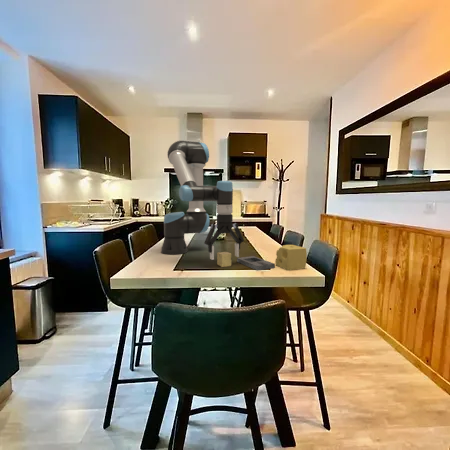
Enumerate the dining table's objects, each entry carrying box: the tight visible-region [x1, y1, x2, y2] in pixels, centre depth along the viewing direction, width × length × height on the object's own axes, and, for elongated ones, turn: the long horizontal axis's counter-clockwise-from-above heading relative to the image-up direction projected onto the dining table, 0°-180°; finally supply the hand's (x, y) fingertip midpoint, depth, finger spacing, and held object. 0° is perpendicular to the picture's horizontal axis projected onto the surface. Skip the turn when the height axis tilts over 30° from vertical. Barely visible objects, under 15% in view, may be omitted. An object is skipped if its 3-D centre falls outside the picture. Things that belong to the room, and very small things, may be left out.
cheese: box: [274, 244, 308, 271], centre depth 132 cm, size 10×11×10 cm
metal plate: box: [236, 255, 276, 271], centre depth 136 cm, size 18×10×2 cm, turn 28°
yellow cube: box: [216, 251, 232, 268], centre depth 135 cm, size 5×5×6 cm
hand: (224, 257), depth 134 cm, fingers open, 13 cm apart
